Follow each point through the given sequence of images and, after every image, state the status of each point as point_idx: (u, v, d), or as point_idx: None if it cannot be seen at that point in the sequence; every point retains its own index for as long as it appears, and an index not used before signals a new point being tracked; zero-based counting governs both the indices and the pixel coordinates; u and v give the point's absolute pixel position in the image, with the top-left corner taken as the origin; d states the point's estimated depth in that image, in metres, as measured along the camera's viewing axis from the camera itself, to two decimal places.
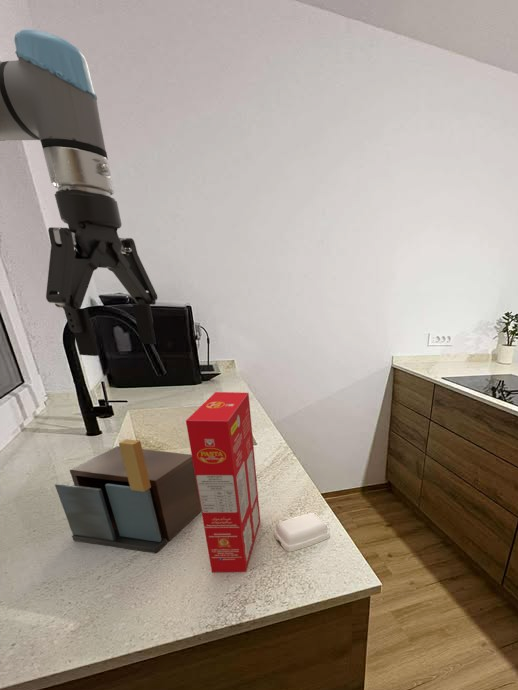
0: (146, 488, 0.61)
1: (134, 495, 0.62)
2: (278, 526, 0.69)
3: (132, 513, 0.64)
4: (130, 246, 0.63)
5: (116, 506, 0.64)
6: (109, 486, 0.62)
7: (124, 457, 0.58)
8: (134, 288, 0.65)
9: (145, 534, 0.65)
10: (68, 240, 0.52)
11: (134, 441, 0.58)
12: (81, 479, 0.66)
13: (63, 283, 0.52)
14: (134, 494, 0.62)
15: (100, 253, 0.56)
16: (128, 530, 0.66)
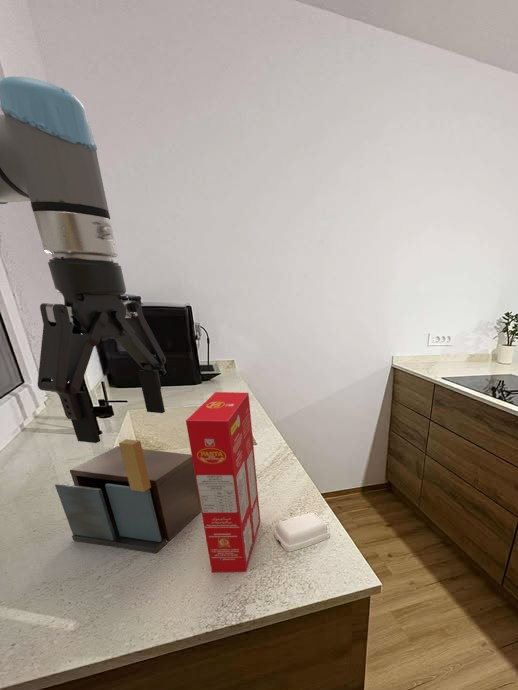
0: (146, 488, 0.61)
1: (134, 495, 0.62)
2: (278, 526, 0.69)
3: (132, 513, 0.64)
4: (136, 310, 0.55)
5: (116, 506, 0.64)
6: (109, 486, 0.62)
7: (124, 457, 0.58)
8: (141, 355, 0.57)
9: (145, 534, 0.65)
10: (64, 318, 0.44)
11: (134, 441, 0.58)
12: (81, 479, 0.66)
13: (58, 368, 0.44)
14: (134, 494, 0.62)
15: (101, 326, 0.48)
16: (128, 530, 0.66)
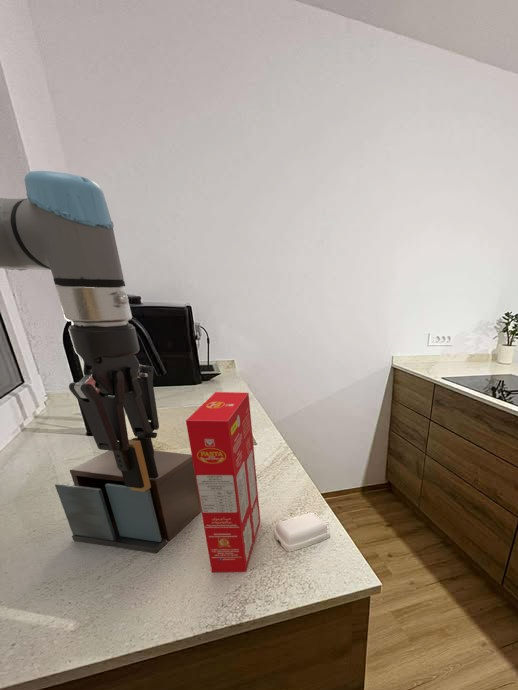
0: (146, 488, 0.61)
1: (134, 495, 0.62)
2: (278, 526, 0.69)
3: (132, 513, 0.64)
4: (147, 372, 0.58)
5: (116, 506, 0.64)
6: (109, 486, 0.62)
7: None
8: (138, 417, 0.58)
9: (145, 534, 0.65)
10: (93, 394, 0.49)
11: (134, 441, 0.58)
12: (81, 479, 0.66)
13: (108, 436, 0.52)
14: (134, 494, 0.62)
15: (117, 384, 0.52)
16: (128, 530, 0.66)
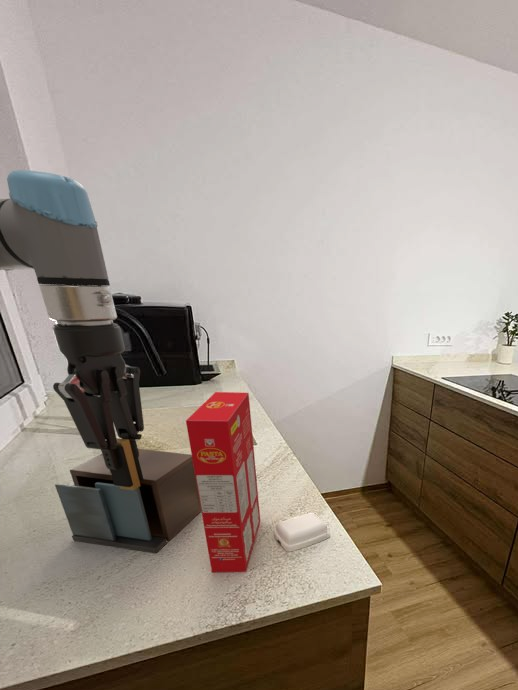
0: (136, 486, 0.61)
1: (124, 494, 0.62)
2: (278, 526, 0.69)
3: (122, 512, 0.64)
4: (133, 373, 0.58)
5: (106, 505, 0.64)
6: (99, 485, 0.62)
7: None
8: (122, 418, 0.58)
9: (135, 533, 0.65)
10: (78, 394, 0.49)
11: (123, 440, 0.58)
12: (81, 479, 0.66)
13: (95, 435, 0.53)
14: (124, 492, 0.62)
15: (102, 383, 0.52)
16: (118, 528, 0.66)
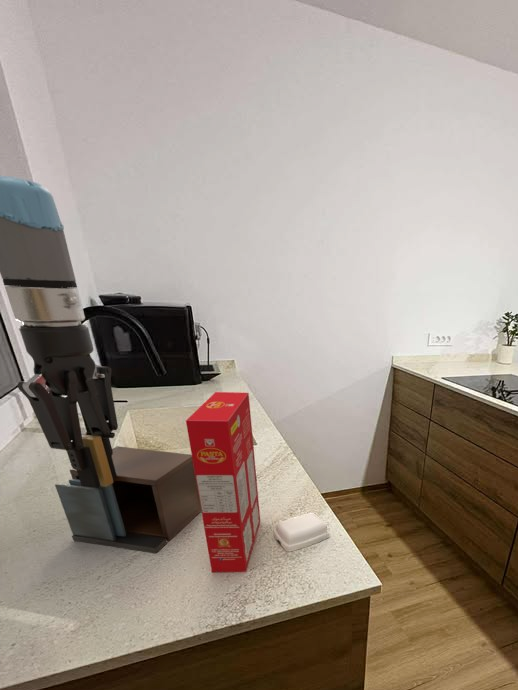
0: (108, 483, 0.62)
1: None
2: (278, 526, 0.69)
3: None
4: (104, 373, 0.59)
5: None
6: (72, 481, 0.63)
7: None
8: (94, 417, 0.59)
9: None
10: (42, 393, 0.50)
11: (94, 437, 0.59)
12: None
13: (59, 435, 0.53)
14: None
15: (69, 383, 0.53)
16: None
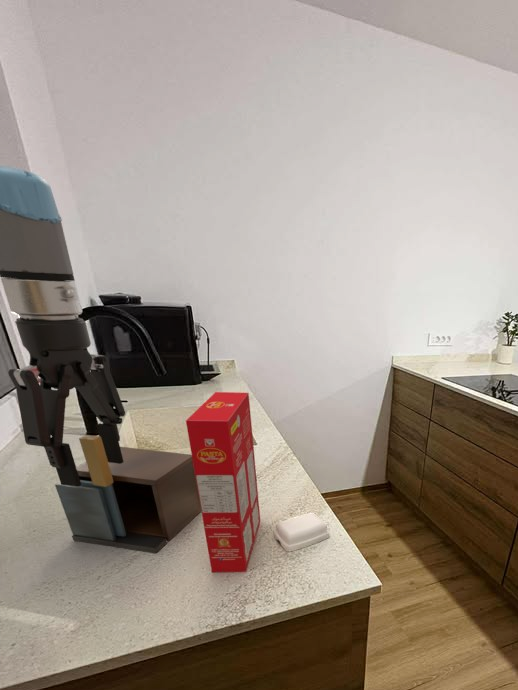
0: (108, 483, 0.62)
1: None
2: (278, 526, 0.69)
3: None
4: (102, 363, 0.58)
5: None
6: None
7: (85, 453, 0.59)
8: (100, 407, 0.60)
9: None
10: (32, 382, 0.48)
11: (94, 437, 0.59)
12: (81, 479, 0.66)
13: (39, 428, 0.50)
14: None
15: (65, 378, 0.52)
16: None
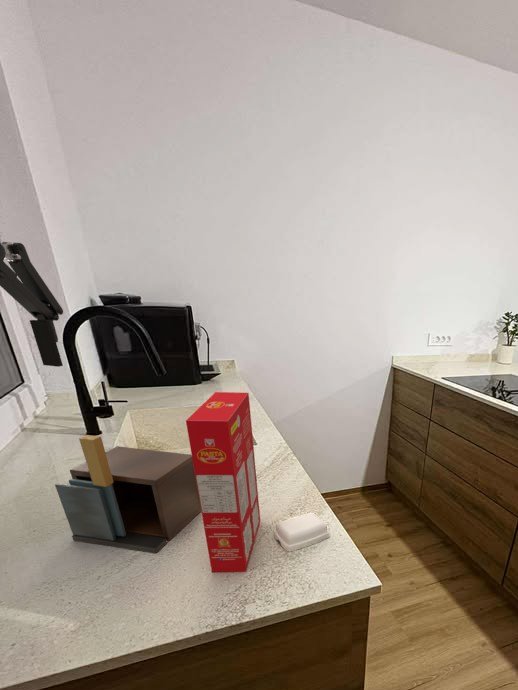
0: (108, 483, 0.62)
1: None
2: (278, 526, 0.69)
3: None
4: (18, 252, 0.52)
5: None
6: (72, 481, 0.63)
7: (85, 453, 0.59)
8: (28, 302, 0.55)
9: None
10: None
11: (94, 437, 0.59)
12: (81, 479, 0.66)
13: None
14: None
15: None
16: None
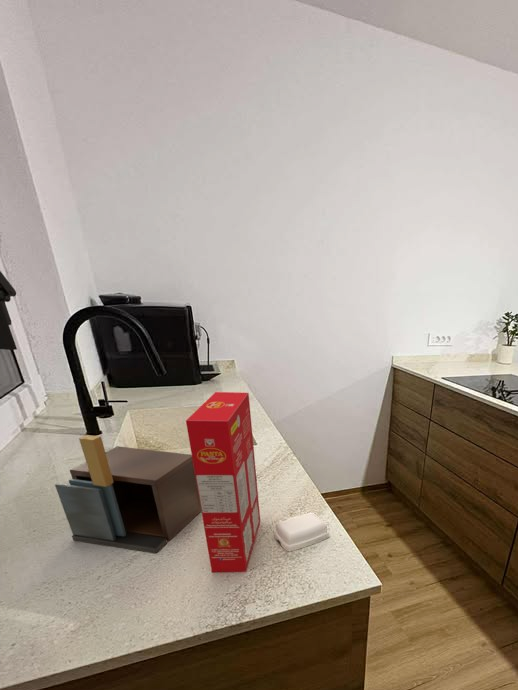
0: (108, 483, 0.62)
1: None
2: (278, 526, 0.69)
3: None
4: None
5: None
6: (72, 481, 0.63)
7: (85, 453, 0.59)
8: None
9: None
10: None
11: (94, 437, 0.59)
12: (81, 479, 0.66)
13: None
14: None
15: None
16: None
